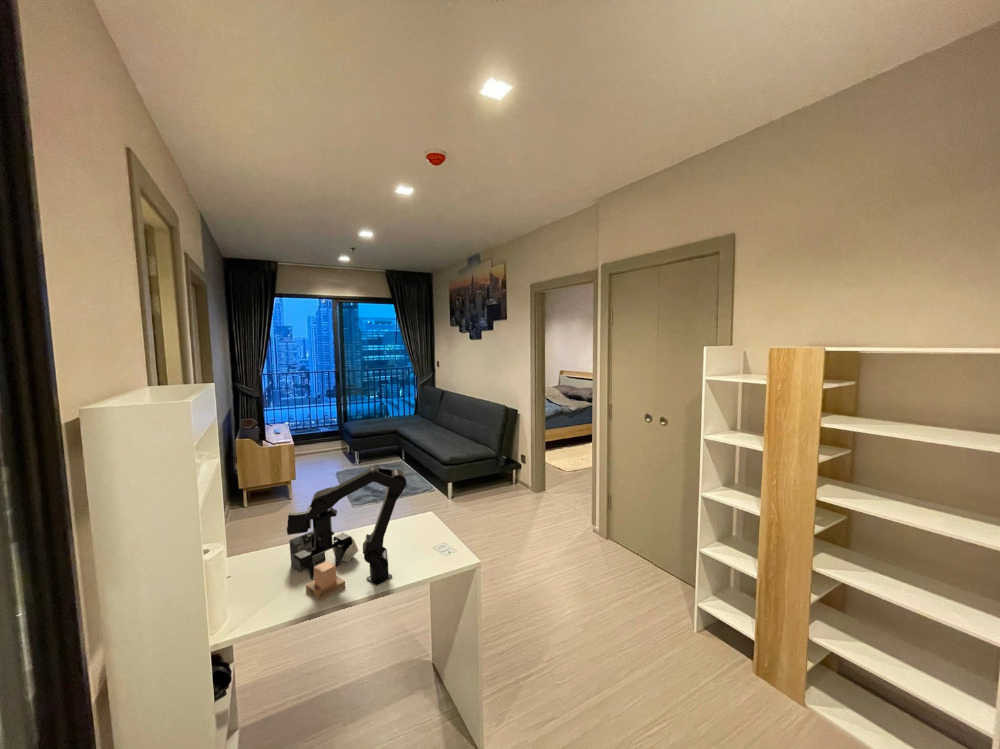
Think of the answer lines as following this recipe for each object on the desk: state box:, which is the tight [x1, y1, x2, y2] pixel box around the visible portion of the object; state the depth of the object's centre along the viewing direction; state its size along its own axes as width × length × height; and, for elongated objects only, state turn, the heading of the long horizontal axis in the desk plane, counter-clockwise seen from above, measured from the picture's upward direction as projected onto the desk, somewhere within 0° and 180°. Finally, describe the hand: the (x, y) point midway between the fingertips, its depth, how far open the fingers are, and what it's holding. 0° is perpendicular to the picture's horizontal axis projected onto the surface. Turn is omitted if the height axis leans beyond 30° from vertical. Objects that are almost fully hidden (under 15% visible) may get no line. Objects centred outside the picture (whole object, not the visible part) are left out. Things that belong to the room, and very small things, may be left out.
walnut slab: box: [305, 575, 346, 601], centre depth 137 cm, size 9×9×2 cm
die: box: [331, 538, 359, 563], centre depth 155 cm, size 8×9×10 cm
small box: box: [289, 530, 327, 573], centre depth 152 cm, size 11×6×10 cm, turn 141°
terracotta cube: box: [313, 560, 337, 589], centre depth 137 cm, size 5×5×6 cm
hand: (324, 572), depth 137 cm, fingers open, 9 cm apart
